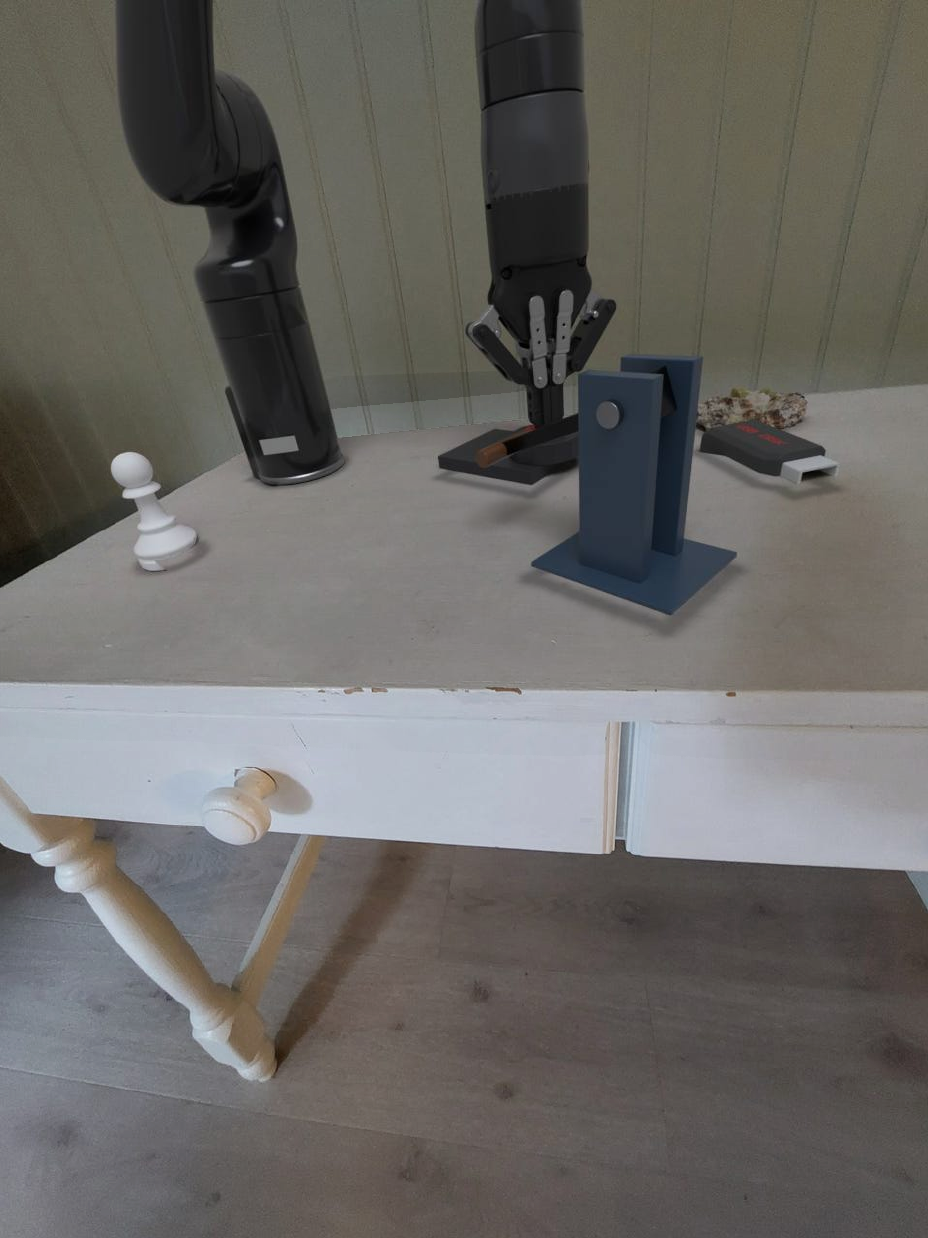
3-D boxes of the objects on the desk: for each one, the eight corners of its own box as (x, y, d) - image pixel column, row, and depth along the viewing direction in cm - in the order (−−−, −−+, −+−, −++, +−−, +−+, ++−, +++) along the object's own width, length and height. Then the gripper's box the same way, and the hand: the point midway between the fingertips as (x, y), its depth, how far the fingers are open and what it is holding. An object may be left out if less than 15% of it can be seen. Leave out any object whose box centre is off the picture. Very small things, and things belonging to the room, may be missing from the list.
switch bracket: (531, 578, 38) (518, 377, 31) (600, 532, 42) (603, 346, 35) (669, 630, 32) (693, 391, 24) (734, 569, 36) (771, 351, 29)
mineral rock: (709, 419, 53) (691, 376, 58) (699, 458, 57) (683, 414, 62) (830, 410, 52) (801, 368, 57) (813, 451, 56) (787, 407, 61)
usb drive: (750, 442, 54) (755, 413, 52) (845, 486, 44) (854, 450, 42) (698, 452, 53) (702, 423, 51) (783, 498, 43) (790, 463, 42)
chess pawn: (157, 577, 45) (102, 468, 40) (131, 563, 48) (78, 460, 43) (213, 551, 48) (169, 446, 43) (186, 539, 51) (142, 439, 46)
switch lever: (482, 478, 39) (469, 444, 38) (528, 455, 42) (517, 423, 41) (642, 428, 29) (628, 380, 28) (690, 402, 31) (679, 358, 31)
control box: (440, 477, 56) (434, 437, 54) (496, 448, 61) (492, 410, 59) (549, 499, 49) (547, 453, 46) (601, 464, 54) (602, 421, 52)
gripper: (590, 181, 45) (590, 404, 55) (434, 203, 43) (463, 434, 52) (645, 168, 39) (634, 421, 49) (467, 193, 36) (493, 456, 46)
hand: (546, 428), depth 51 cm, fingers closed
